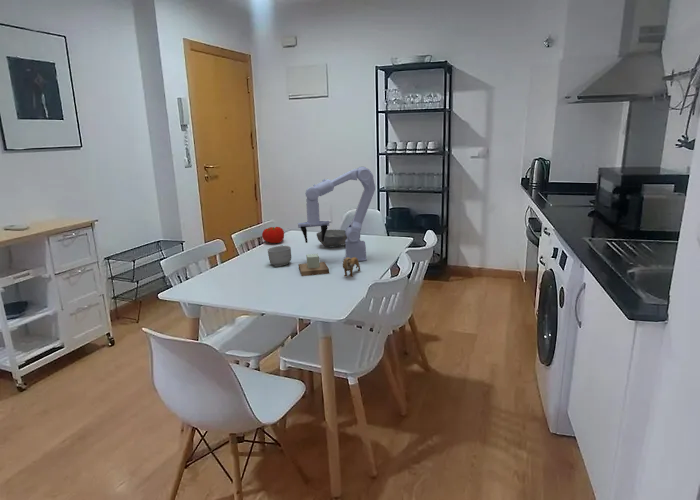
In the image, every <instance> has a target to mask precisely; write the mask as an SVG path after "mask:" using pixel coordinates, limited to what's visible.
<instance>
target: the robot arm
mask: <svg viewBox="0 0 700 500" xmlns="http://www.w3.org/2000/svg"><path fill="white" fill-rule="evenodd" d="M350 180H351V181H360V183H361V186H362V187H363V191H362V194H361V197H360V199H359V202H358V204H357V208H356V210H355V212H354V215H353V218H352V220H351V222H350V223H349V225H348V226H347V227H346V229H345V234H346V236H347V239H346V240H345V244H344V245H345V256H344V257H343V260H344V259H345V258H347V257H349V258H353V257H356V258H357V259H358V262H364V261H367V246H366V245H367V244H366V242H365V241H364V240H361V230H362V227H363V223H364V220H365V217H366V214H367V212H368V210H369V207H370V204H371V201H372V199H373V196H374V194H375V191H376V183H375V179H374V175H373V173H372V172H371V170H370V169H369V168H367V167H366V166H359V167H357V168H356V167H355V168H353V169H350V170H349V171H346V172H344V173H342V174H341V175H338V176H337V177H335V178H333V179H328V178H327V179H326V178H324V179H322V181H319V182H318V183H316V184H315V183H314V184H312V186H309V187H307V189H306V190H305V197H306V222H298V223H297V228H298V229H300V230H301V232H302V234H303V238H304V241H305V243H306V244H308V233H307V232H308V230H307V228H313V227H320V232H321V234H322V235H321V239H322V242H323V241H324V236H325V233H326V230H328V227H329V226H330V220H320V219H321V218H320V204H319V197H322V196H324V195H327V194H329V193H331V192H333V191H334V189H335V187H337V186H339V185H341V184H344V183H347V182H348V181H350Z"/></svg>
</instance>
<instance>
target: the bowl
mask: <svg viewBox="0 0 700 500" xmlns="http://www.w3.org/2000/svg"><path fill="white" fill-rule="evenodd" d="M345 230H346V229H345ZM345 230H343V229H327V230H326V233H325V236H324V241H323V242H322V239H321V235H322V234H321V231H318V232H317V233H316V238H317V241H318V242H320V244H321V245H322V246H324V247H326V248H331V247H332V248H333V247H335V248H336V247H340V246H343V245H345V240H346V239H347V236H346V234H345Z"/></svg>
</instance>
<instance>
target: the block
mask: <svg viewBox="0 0 700 500" xmlns="http://www.w3.org/2000/svg"><path fill="white" fill-rule="evenodd" d="M319 262H320V255H319V254H318V253H310V254H309V253H308V254H306V263H307V266H308V268H319V267H320V263H319Z"/></svg>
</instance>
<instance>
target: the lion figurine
mask: <svg viewBox="0 0 700 500" xmlns="http://www.w3.org/2000/svg"><path fill="white" fill-rule="evenodd" d="M359 263H360V261H358V259H357V258H356V257H353V258H349V257H347V258H345V259H344V258H343V261H342V269H343V270H344V275H343V276H344V278H345V277H346V278H347V277H348V272H349V273H350V274H349V277H350V278H351V277H354V274H353V271H354V267H355V266H356V267H355V269H357V272H361V266H360V264H359Z"/></svg>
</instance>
